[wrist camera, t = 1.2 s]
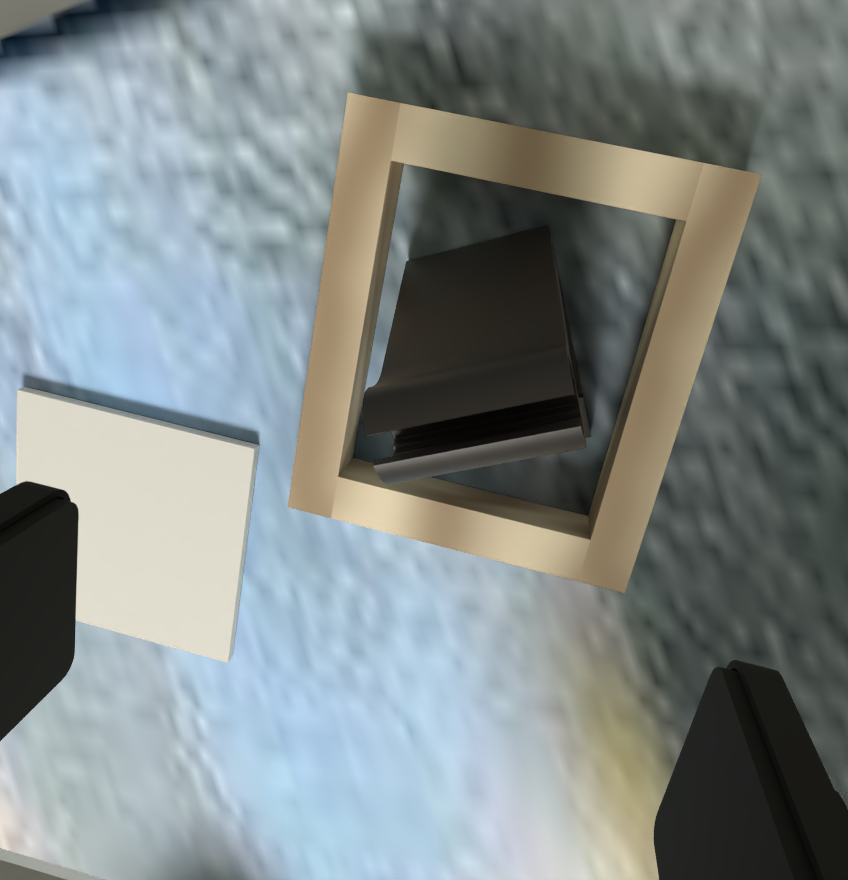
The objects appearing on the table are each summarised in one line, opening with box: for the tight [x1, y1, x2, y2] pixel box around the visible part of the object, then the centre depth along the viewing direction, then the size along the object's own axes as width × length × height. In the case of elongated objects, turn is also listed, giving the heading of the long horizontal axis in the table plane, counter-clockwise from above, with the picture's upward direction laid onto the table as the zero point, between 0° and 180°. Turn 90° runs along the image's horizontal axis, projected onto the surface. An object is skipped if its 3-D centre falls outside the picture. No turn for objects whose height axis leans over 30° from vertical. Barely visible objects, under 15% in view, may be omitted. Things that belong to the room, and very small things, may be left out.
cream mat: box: [16, 387, 259, 663], centre depth 38 cm, size 12×12×1 cm
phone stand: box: [362, 225, 591, 484], centre depth 26 cm, size 9×6×12 cm, turn 14°
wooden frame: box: [288, 93, 762, 593], centre depth 31 cm, size 15×17×2 cm
